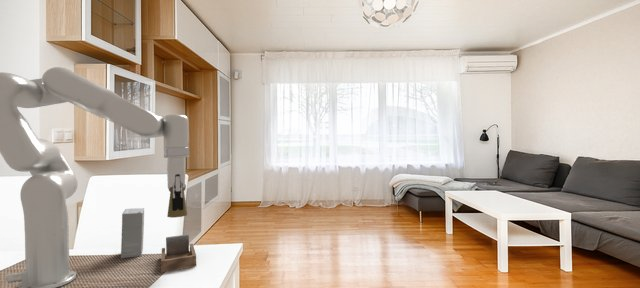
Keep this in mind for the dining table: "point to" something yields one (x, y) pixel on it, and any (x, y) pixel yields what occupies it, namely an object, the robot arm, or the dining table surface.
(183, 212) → the cork
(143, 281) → the dining table surface
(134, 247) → the skincare box
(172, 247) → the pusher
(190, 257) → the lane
